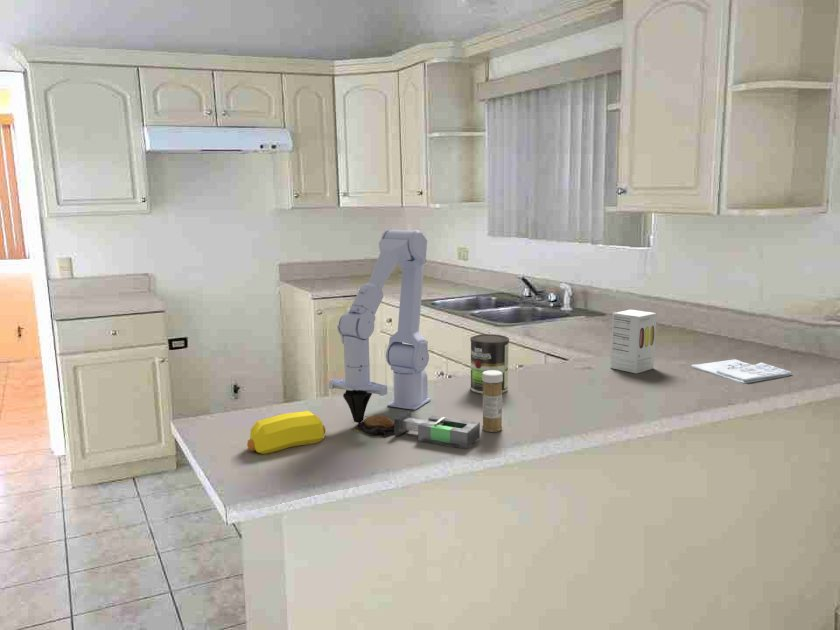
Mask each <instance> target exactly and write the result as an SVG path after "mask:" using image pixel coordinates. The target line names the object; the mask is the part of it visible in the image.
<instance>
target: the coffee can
mask: <svg viewBox="0 0 840 630" xmlns="http://www.w3.org/2000/svg"><path fill="white" fill-rule="evenodd" d="M509 342H510V338H509V337H508V336H506V335H501V334H492V333H491V334H486V333H485V334H484V333H483V334H477V335H476V334H475V335H473V336H470V390H471V391H472V392H474V393H476V394H477V393H478V394H482V395H483V380H482V373H483V372H484V371H488V370H496V371H500V372H502V374H503V381H502V394H504V393H506V392H508V390H509Z"/></svg>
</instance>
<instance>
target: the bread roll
mask: <svg viewBox="0 0 840 630" xmlns="http://www.w3.org/2000/svg"><path fill="white" fill-rule="evenodd" d="M351 430H352V431H354V432H358V433H361V434H364V435H368V436H372V437H375V438H380V439H387V438H389V437H392V436H395V435H394V420H392V419H391V418H390V417H388V416H387V415H384V414H373V415H369V416H368V417H366V418H365V417H364V418H363V421H361V422H359V423H357V425H355V426H353V427H351Z"/></svg>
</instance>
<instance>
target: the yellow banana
mask: <svg viewBox="0 0 840 630" xmlns="http://www.w3.org/2000/svg"><path fill="white" fill-rule="evenodd" d="M249 434H250V435H249V439H248V440H247V445H246V446H247V448H248V450H249V451H253V452H256V453H259V454H262V455H267V454H270V453H275V452H278V451H283V450H285V449H288V448H292V447H298V446H305V445H310V444H315V443H319V442H321V441H322V440H324V438H325V437H326V436H325V434H326V426H325V425H324V424H323V420H322V419H320V417H318V415H316V414H313V413H312V412H311V411H310V410H304V411H297V412H286V413H282V414H278V415H274V416H271V417H267V418H263V419H260V420H259V419H258V420H256V421H255V423H254V424H253V425H252V427H251V428H250V433H249Z"/></svg>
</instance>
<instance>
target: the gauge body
mask: <svg viewBox="0 0 840 630" xmlns="http://www.w3.org/2000/svg"><path fill="white" fill-rule="evenodd" d="M442 417H443V416H436V415H430V417H428V420H427V421H434V422H437V421H438V420H439V419H441V418H442ZM442 423H444V426H442V425H437V426H434V424H428V423H421V424H419V425H418V432H417V436H418V438H417V439H418V440H417V441H418V442H419V443H428V444H434V445H440V446H446V447H452V448H458V449H465V450H468V449H470V447H472V446H473V445H474V444H475V443H476V442H478V440H480V438H481V429H480V428H481V423H480V421H479V422H478V421H474V420H473V421H472V420H465V419H457V418H452V417H445V420H443V421H442Z"/></svg>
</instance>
